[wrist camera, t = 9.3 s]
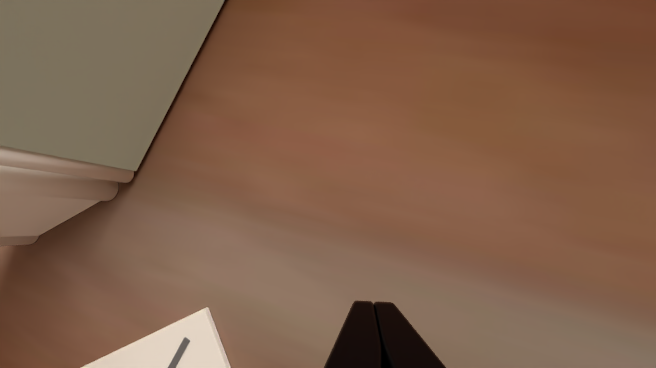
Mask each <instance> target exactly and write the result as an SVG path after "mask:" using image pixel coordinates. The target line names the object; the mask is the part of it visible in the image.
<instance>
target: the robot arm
mask: <svg viewBox="0 0 656 368" xmlns="http://www.w3.org/2000/svg"><path fill="white" fill-rule="evenodd" d="M324 368H446V367H445V366H444V365H443V363H442V362H441V361H440V360H439V358H438V357H437V356H436V355H435V354H434V352H433V351H432V350H431V349H430V347H429V346H428V345H427V344H426V343H425V341H424V340H423V339H422V338H421V336H420V335H419V334H418V333H417V331H416V330H415V329H414V328H413V327H412V325H411V324H410V323H409V322H408V320H407V319H406V318H405V317H404V316H403V314H402V313H401V312H400V311H399V309H398V308H397V307H396V306H395V305H394V304H393V303H391V302H375V303H374V304H373V303H372V302H371V301H355V302H354V303H353V304H352V307H351V309H350V311H349V313H348V316H347V318H346V320H345V322H344V324H343V327H342V329H341V331H340V333H339V335H338V338H337V340H336V342H335V344H334V347H333V349H332V351H331V353H330V355H329V358H328V360H327V362H326V364H325V366H324Z"/></svg>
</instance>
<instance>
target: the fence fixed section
mask: <svg viewBox="0 0 656 368" xmlns="http://www.w3.org/2000/svg"><path fill="white" fill-rule="evenodd" d="M118 187H119V186H118V182H115V181H108V180H101V179H94V178H87V177H80V176H73V175H66V174H58V173H51V172H44V171H37V170H30V169H23V168H16V167H9V166H2V165H0V246H15V245H31V244H33V243H35V242H36V241H37V239H38V237H39V235H41V234H43V233H45V232H46V231H48V230H50V229H52V228H54V227H55V226H57V225H59V224H61V223H62V222H64V221H66V220H68V219H70V218H71V217H73V216H75V215H77V214H78V213H80V212H82V211H84V210H86V209H87V208H89V207H91V206H93V205H94V204H96V203H98V202H100V201H110V200H112V199H113V198H114V197H115V196H116V194H117V192H118Z"/></svg>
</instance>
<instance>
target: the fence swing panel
mask: <svg viewBox="0 0 656 368" xmlns="http://www.w3.org/2000/svg"><path fill="white" fill-rule="evenodd" d="M224 1H225V0H0V165H2V166H9V167H16V168H23V169H30V170H37V171H44V172H51V173H58V174H66V175H73V176H80V177H87V178H94V179H101V180H108V181H115V182H122V183H128V182H130V181H131V180H132V179H133V176H134V171H137V169H138V167H139V165H140V163H141V161H142V159H143V157H144V155H145V153H146V151H147V150H148V148H149V146H150V144H151V142H152V140H153V138H154V136H155V134H156V132H157V130H158V128H159V126H160V124H161V122H162V121H163V119H164V117H165V115H166V113H167V111H168V109H169V107H170V105H171V103H172V101H173V99H174V97H175V95H176V93H177V92H178V90H179V88H180V86H181V84H182V82H183V80H184V78H185V76H186V74H187V72H188V70H189V68H190V66H191V64H192V62H193V61H194V59H195V57H196V55H197V53H198V51H199V49H200V47H201V45H202V43H203V41H204V39H205V37H206V35H207V33H208V32H209V30H210V28H211V26H212V24H213V22H214V20H215V18H216V16H217V14H218V12H219V10H220V8H221V6H222V4H223V3H224Z"/></svg>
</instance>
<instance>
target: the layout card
mask: <svg viewBox="0 0 656 368" xmlns="http://www.w3.org/2000/svg"><path fill="white" fill-rule="evenodd" d="M81 368H231V367H230V364H229V362H228V359H227V356H226V354H225V351H224V348H223V346H222V343H221V340H220V338H219V335H218V332H217V330H216V327H215V324H214V322H213V319H212V316H211V314H210V311H209V308H208V307H207V308H204V309H202V310H200V311H198V312H196V313H194V314H192V315H190V316H188V317H186V318H184V319H181V320H179V321H177V322H175V323H173V324H171V325H169V326H167V327H165V328H163V329H161V330H159V331H156V332H154V333H152V334H150V335H148V336H146V337H144V338H142V339H140V340H138V341H136V342H133V343H131V344H129V345H127V346H125V347H123V348H121V349H119V350H117V351H115V352H113V353H111V354H108V355H106V356H104V357H102V358H100V359H98V360H96V361H94V362H92V363H90V364H88V365H85V366H83V367H81Z"/></svg>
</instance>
